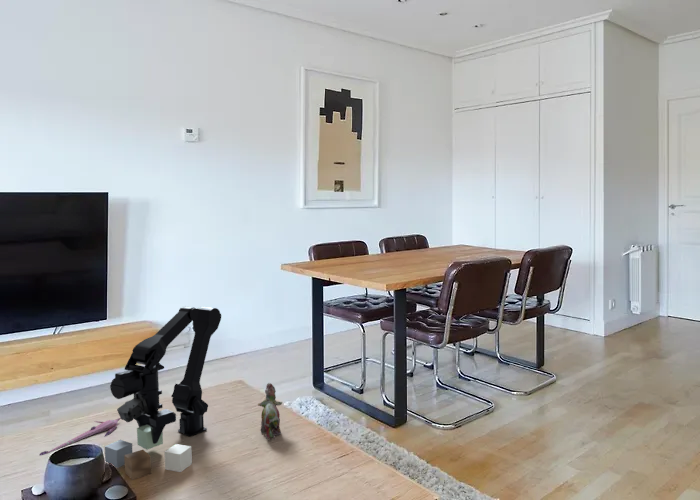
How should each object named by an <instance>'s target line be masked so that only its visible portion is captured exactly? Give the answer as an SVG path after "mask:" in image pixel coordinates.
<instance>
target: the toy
mask: <svg viewBox="0 0 700 500" xmlns="http://www.w3.org/2000/svg"><path fill="white" fill-rule="evenodd" d="M121 420H122V419H121V418H119V417H118V418H117V419H109V420H108V419H107V420H105V421H97V420H95V421H94V422H95V423H97V425H96V426H92V427H91V428H90V429H89V430H87V431H85V432H83V433H81V434H79V435H77V436H75V437H74V438H71V439H69V440H68V441H65V442H64V443H62V444H60V445H58V446H56V447H54V448H52V449H51V450H49V451H47V450H45V451H42V452H40V453H39V456H44V455H47V454H50V453H51V452H53V451H54V452H55V451H56V450H59V449H61V448H64V447H67V446H69V445H71V444H73V443H76V442H79V441H81V440H83V439H86V438H89V437H91V436H93V435H96V434H99V433H103V432H106V431H107V432H106V433H105V434H104V436H103V437H104V438H105V437H107V436H109V435H111V434H112V433H113V432H114V431H115V430H116V428H118V427H117V426H118V422H119V421H121Z"/></svg>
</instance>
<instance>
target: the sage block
mask: <svg viewBox="0 0 700 500" xmlns="http://www.w3.org/2000/svg"><path fill="white" fill-rule="evenodd" d="M136 433H137V434H136V436H137V437H136V438H137V446H138V447H141V448H142V449H143V450H144V449H145V450H146V451H148V450H150V449H153V448H156V447H159V446H161V445H163V444H164V438H163V436H164V435H163V431H162V433H161V436H160V438H159V440H158V442H157V443H156V444H153V440H152V434H151V428H150V427H149V426H148V425H144V426H142V427H139V426H138V427H137V428H136Z"/></svg>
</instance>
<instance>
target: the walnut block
mask: <svg viewBox="0 0 700 500" xmlns="http://www.w3.org/2000/svg"><path fill="white" fill-rule="evenodd" d="M124 461H125V465H124V473H125V475H126V476H128V477H129V478H130V480H131V481H133V480H137V479H139V478H140V479H141V478H142V477H145V476H148V475H151V474H152V461H151V455H150V454H149V453H148V452H147V451H145V450H144V449H139V450H137V451H134V452H133V451H132V453H130V454H127V455H124Z"/></svg>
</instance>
